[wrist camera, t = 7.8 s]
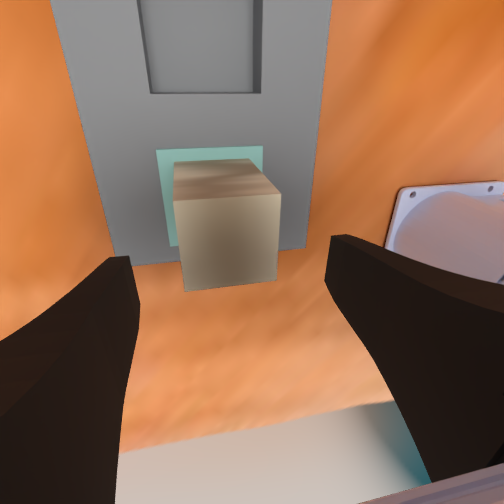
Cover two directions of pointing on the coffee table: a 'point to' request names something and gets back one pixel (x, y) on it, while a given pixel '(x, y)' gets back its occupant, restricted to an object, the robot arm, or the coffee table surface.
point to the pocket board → (194, 103)
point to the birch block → (225, 223)
